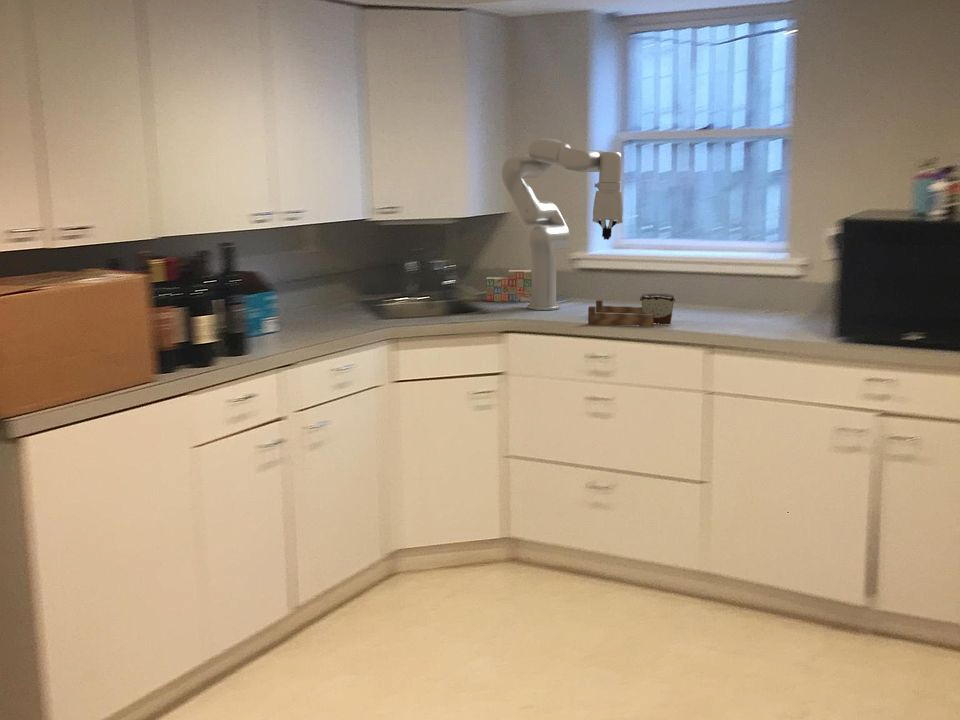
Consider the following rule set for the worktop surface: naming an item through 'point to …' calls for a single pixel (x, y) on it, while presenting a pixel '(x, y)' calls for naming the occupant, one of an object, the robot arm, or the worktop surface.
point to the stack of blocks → (509, 286)
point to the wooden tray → (618, 315)
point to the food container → (658, 306)
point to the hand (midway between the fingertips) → (606, 239)
